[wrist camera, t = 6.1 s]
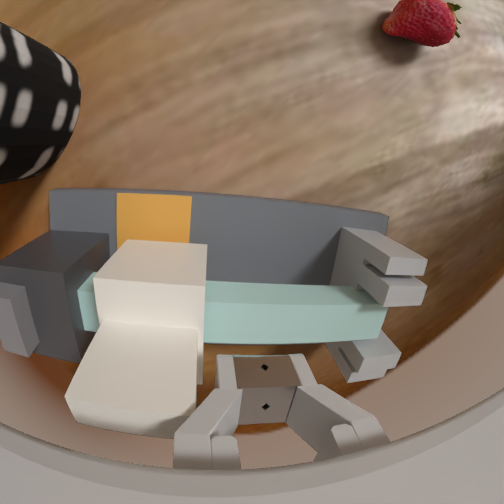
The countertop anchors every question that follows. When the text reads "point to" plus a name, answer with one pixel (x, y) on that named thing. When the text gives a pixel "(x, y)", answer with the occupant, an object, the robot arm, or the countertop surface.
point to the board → (220, 230)
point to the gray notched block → (374, 295)
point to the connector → (49, 294)
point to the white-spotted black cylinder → (33, 105)
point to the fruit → (423, 21)
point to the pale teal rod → (273, 313)
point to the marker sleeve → (144, 340)
